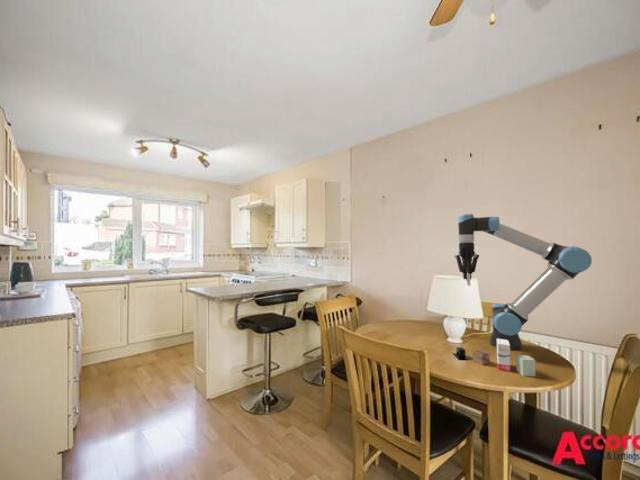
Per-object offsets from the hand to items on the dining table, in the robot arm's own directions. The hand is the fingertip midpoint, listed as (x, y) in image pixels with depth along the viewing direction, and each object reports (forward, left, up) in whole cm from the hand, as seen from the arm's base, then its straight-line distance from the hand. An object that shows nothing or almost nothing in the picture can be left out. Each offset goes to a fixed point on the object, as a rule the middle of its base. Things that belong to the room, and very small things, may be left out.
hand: (467, 285), depth 158 cm
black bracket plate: (+11, +12, -35) cm, 39 cm away
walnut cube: (+5, +19, -35) cm, 40 cm away
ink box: (-2, +25, -35) cm, 43 cm away
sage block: (-7, +32, -35) cm, 48 cm away
